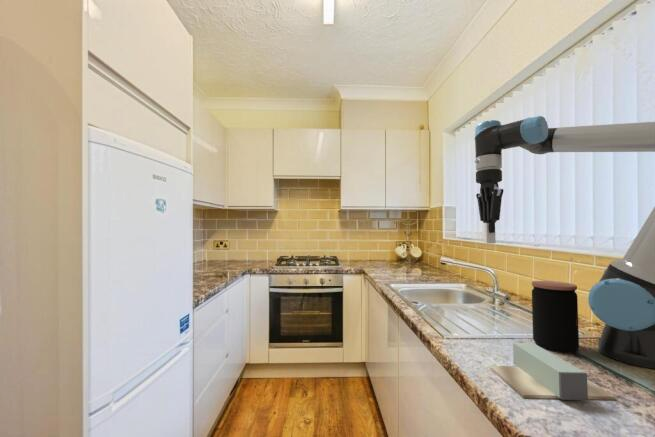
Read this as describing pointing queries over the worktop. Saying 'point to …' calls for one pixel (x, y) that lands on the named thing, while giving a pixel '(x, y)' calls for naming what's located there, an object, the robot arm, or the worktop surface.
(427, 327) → the worktop surface
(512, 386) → the birch board
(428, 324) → the worktop surface
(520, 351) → the sage block
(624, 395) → the worktop surface
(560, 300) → the coffee jar
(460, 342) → the worktop surface
